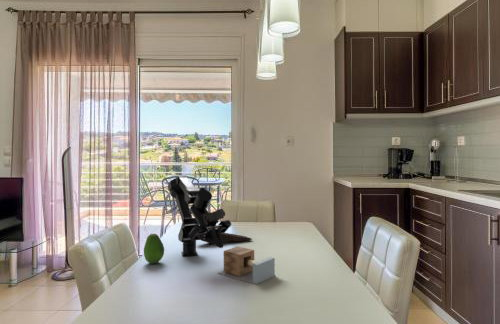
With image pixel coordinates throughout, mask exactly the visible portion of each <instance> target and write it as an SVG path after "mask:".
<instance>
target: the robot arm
mask: <svg viewBox="0 0 500 324" xmlns="http://www.w3.org/2000/svg"><path fill="white" fill-rule="evenodd" d="M167 190H168V192H169V195H170V196H171V197H172V198H173V199H175V202H176V205H177V209H178V211H179V215H180V220H181V222H182V223H181V225H180V229H179V232H178V234H177V238H178V242H181V243H182V251H181V252H180V253H181V255H182V257H191V256H192V257H193V256H198V255H199V253H198V251H197V241H201V240H200V238H201V234H204V238H203V240H207V241H209V242H211V243H210V244H212V245H214V246H216V247H218V248H220V249H222V248H223V247H224V243H222V238H221V234H222V233H227V231H228V229H229V228H230V227H231V226H232V222H231V221H230V219H226V220H225V219H224V218H225V216H226V212H225V210H224V209H223V208H219V209H217V210H215V211H212V212H209V211H208V209H207V208H208V207H209V205H210V202H211V200H212V198H213V194H212V193H211V192H210V191H209V190H208V189H206V188H205V187H197V186H195V185H194V184H193V183H192V182H191V180H190V179H189V177H188V175H178V176H175V178H173V179H171V180H170V181H168V183H167ZM190 205H191V206H190ZM222 219H224V220H222ZM220 220H221V221H220Z"/></svg>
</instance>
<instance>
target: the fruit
mask: <svg viewBox="0 0 500 324" xmlns="http://www.w3.org/2000/svg"><path fill="white" fill-rule="evenodd" d="M164 254H165V247H164V243H163V241H162V240H161V238H160V236H159V235H158V234H157V233H150V234H149V235H148V236H147V237H146V241H145V243H144V248H143V255H144V259H145V260H146V262H147V263H148V264H152V265H153V264H157V263H159V262H160V261H161V260H162V259H163V257H164Z"/></svg>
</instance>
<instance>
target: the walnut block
mask: <svg viewBox="0 0 500 324" xmlns="http://www.w3.org/2000/svg"><path fill="white" fill-rule="evenodd" d="M249 260H254V261H255V250H254V249H251V248H248V247H247V248H246V247H243V246H242V247H241V246H235V247H231V248H229V249H225V250H223V271H224V272H226V273H230V274H233V275H237V276H242V275H245V274H247V273H250V272H252V271H253V267H252V266H248V261H249Z"/></svg>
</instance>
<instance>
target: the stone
mask: <svg viewBox="0 0 500 324" xmlns="http://www.w3.org/2000/svg"><path fill="white" fill-rule="evenodd" d="M203 238H204V234H201V238H200V240H199V241H202V242H204V243H208V244H212V243H211V242H209V241H207V240H203ZM221 238H222V243H223V244H227V243H232V242H247V241H252V240H253V239H252V238H251V237H248V236H245V235H241V234H240V235H239V234H236V233H235V234H234V233H230V232H229V233H228V232H225V233H222V234H221Z"/></svg>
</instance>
